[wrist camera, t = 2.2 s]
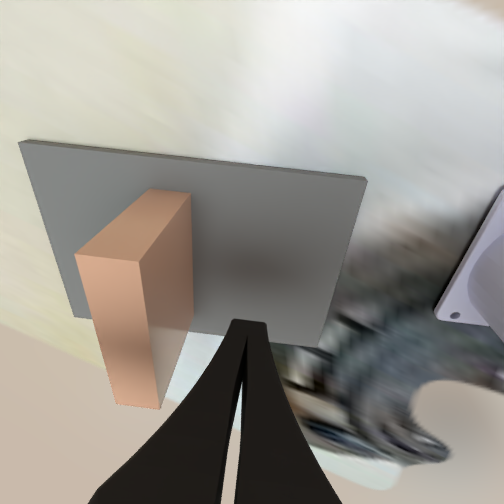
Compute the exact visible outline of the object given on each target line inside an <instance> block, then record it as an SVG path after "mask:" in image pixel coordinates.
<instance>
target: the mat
mask: <svg viewBox="0 0 504 504" xmlns="http://www.w3.org/2000/svg"><path fill="white" fill-rule="evenodd" d="M18 144H19V147H20V151H21V154H22V157H23V160H24V163H25V166H26V169H27V172H28V175H29V178H30V182H31V185H32V188H33V191H34V194H35V197H36V200H37V203H38V206H39V209H40V212H41V216H42V219H43V222H44V225H45V228H46V231H47V234H48V237H49V240H50V243H51V247H52V250H53V253H54V256H55V259H56V262H57V265H58V268H59V271H60V274H61V277H62V281H63V284H64V287H65V290H66V293H67V296H68V299H69V302H70V305H71V308H72V312H73V315H74V317H78V318H86V319H92V316H91V312H90V309H89V305H88V301H87V298H86V294H85V291H84V287H83V284H82V280H81V276H80V273H79V269H78V266H77V262H76V259H75V255H74V254H75V253H76V252H77V251H78V250H79V249H81V248H82V247H83V246H84V245H85V244H86V243H87V242H89V241H90V240H91V239H92V238H93V237H94V236H96V235H97V234H98V233H99V232H100V231H101V230H102V229H104V228H105V227H106V226H107V225H108V224H109V223H111V222H112V221H113V220H114V219H115V218H116V217H117V216H119V215H120V214H121V213H122V212H123V211H124V210H125V209H127V208H128V207H129V206H130V205H131V204H132V203H134V202H135V201H136V200H137V199H138V198H139V197H140V196H142V195H143V194H144V193H145V192H146V191H147V190H148V189H150V188H151V189H159V190H168V191H177V192H186V193H191V219H192V258H193V298H194V317H193V319H192V322H191V325H190V328H189V330H188V331H189V332H197V333H205V334H213V335H221V336H225V335H226V333H227V330H228V328H229V326H230V323H231V320H233V319H234V318H235V319H243V320H251V321H259V322H265V323H266V324H267V332H268V338H269V342H276V343H284V344H292V345H300V346H308V347H316V348H317V346H318V343H319V340H320V336H321V333H322V330H323V327H324V323H325V320H326V317H327V313H328V310H329V307H330V304H331V300H332V297H333V294H334V290H335V287H336V284H337V281H338V277H339V274H340V271H341V267H342V264H343V261H344V258H345V254H346V251H347V248H348V244H349V241H350V238H351V235H352V231H353V228H354V225H355V221H356V218H357V215H358V212H359V208H360V205H361V202H362V198H363V195H364V192H365V189H366V185H367V182H368V181H367V180H366V178H365V177H359V176H350V175H341V174H332V173H323V172H314V171H305V170H296V169H287V168H278V167H269V166H260V165H251V164H242V163H233V162H224V161H215V160H206V159H197V158H187V157H178V156H169V155H160V154H151V153H142V152H133V151H124V150H115V149H106V148H97V147H88V146H79V145H70V144H61V143H52V142H43V141H34V140H25V141H21V142H18Z"/></svg>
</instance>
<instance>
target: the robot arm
mask: <svg viewBox="0 0 504 504" xmlns="http://www.w3.org/2000/svg"><path fill="white" fill-rule="evenodd" d="M454 312H455V313H454ZM452 313H454V314H452ZM434 314H435V315H436V317H437V318H438V319H439V320H443V321H452V322H460V323H468V324H476V325H484V326H490V327H491V328H492V329H493V330H494V332H495V333H496V334H497V335H498V336H499V338H500V339H501V340H502V341H503V342H504V189H503V190H502V191H501V193H500V194H499V196H498V197H497V199H496V201H495V203H494V205H493V206H492V208H491V210H490V212H489V213H488V215H487V217H486V219H485V221H484V222H483V224H482V226H481V228H480V229H479V231H478V233H477V235H476V237H475V238H474V240H473V242H472V244H471V245H470V247H469V249H468V251H467V253H466V254H465V256H464V258H463V260H462V261H461V263H460V265H459V267H458V269H457V270H456V272H455V274H454V276H453V277H452V279H451V281H450V283H449V285H448V286H447V288H446V290H445V292H444V293H443V295H442V297H441V299H440V301H439V302H438V304H437V306H436V308H435V310H434ZM241 384H242V409H241V439H240V440H241V441H240V454H239V462H238V463H239V464H238V471H237V480H236V489H235V499H234V504H342V502H341V501H340V499H339V498H338V496H337V494H336V493H335V491H334V489H333V488H332V486H331V484H330V483H329V481H328V479H327V478H326V476H325V474H324V472H323V471H322V469H321V467H320V465H319V464H318V462H317V460H316V458H315V456H314V454H313V452H312V450H311V449H310V447H309V445H308V443H307V441H306V439H305V437H304V435H303V433H302V431H301V429H300V427H299V425H298V423H297V421H296V418H295V416H294V414H293V412H292V409H291V407H290V405H289V402H288V400H287V397H286V395H285V392H284V390H283V387H282V384H281V381H280V378H279V376H278V372H277V369H276V366H275V363H274V359H273V356H272V352H271V348H270V343H269V338H268V332H267V324H266V323H265V322H259V321H251V320H243V319H235V318H234V319H233V320H231V323H230V326H229V328H228V330H227V333H226V335H225V337H224V339H223V341H222V343H221V345H220V346H219V348H218V350H217V352H216V353H215V355H214V357H213V358H212V360H211V362H210V363H209V365H208V366H207V368H206V369H205V371H204V372H203V374H202V375H201V377H200V378H199V380H198V381H197V383H196V384H195V385H194V387H193V388H192V389H191V391H190V392H189V393H188V395H187V396H186V397H185V398H184V400H183V401H182V402H181V404H180V405H179V406H178V407H177V408H176V410H175V411H174V412H173V413H172V414H171V416H170V417H169V418H168V419H167V420H166V421H165V422H164V424H163V425H162V426H161V427H160V428H159V429H158V430H157V431H156V432H155V433H154V434H153V435H152V436H151V437H150V439H149V440H148V441H147V442H146V443H145V444H144V445H143V446H142V447H141V448H140V449H139V450H138V451H137V452H136V453H135V454H134V455H133V456H132V457H131V458H130V459H129V460H128V461H127V462H126V463H125V464H124V465H123V466H121V467H120V468H119V469H118V470H117V471H116V472H115V473H114V474H113V475H112V476H111V477H110V478H109V479H108V480H106V481H105V482H104V483H103V484H102V485H101V486H100V487H99V488H98V489H97V490H96V492H95V493H94V495H93V497H92V498H91V499H90V501H89V503H88V504H221V497H222V490H223V482H224V474H225V466H226V459H227V452H228V446H229V440H230V435H231V431H232V426H233V421H234V417H235V412H236V407H237V403H238V398H239V393H240V389H241Z"/></svg>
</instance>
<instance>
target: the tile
mask: <svg viewBox="0 0 504 504" xmlns="http://www.w3.org/2000/svg"><path fill="white" fill-rule="evenodd" d="M74 255H75V259H76V262H77V266H78V269H79V273H80V276H81V280H82V284H83V287H84V291H85V294H86V298H87V301H88V305H89V309H90V312H91V316H92V319H93V323H94V327H95V330H96V334H97V337H98V341H99V344H100V348H101V352H102V355H103V359H104V362H105V366H106V369H107V373H108V377H109V380H110V384H111V387H112V391H113V395H114V398H115V402H116V404H120V405H128V406H135V407H143V408H150V409H158V410H160V408H161V405H162V402H163V400H164V397H165V394H166V392H167V389H168V386H169V383H170V380H171V378H172V375H173V372H174V369H175V367H176V364H177V361H178V358H179V355H180V353H181V350H182V347H183V344H184V342H185V339H186V336H187V333H188V330H189V328H190V325H191V322H192V319H193V317H194V298H193V258H192V219H191V193H186V192H177V191H168V190H159V189H151V188H150V189H148V190H147V191H146V192H145V193H144V194H143V195H142V196H140V197H139V198H138V199H137V200H136V201H135V202H134V203H132V204H131V205H130V206H129V207H128V208H127V209H125V210H124V211H123V212H122V213H121V214H120V215H119V216H117V217H116V218H115V219H114V220H113V221H112V222H111V223H109V224H108V225H107V226H106V227H105V228H104V229H102V230H101V231H100V232H99V233H98V234H97V235H96V236H94V237H93V238H92V239H91V240H90V241H89V242H87V243H86V244H85V245H84V246H83V247H82V248H81V249H79V250H78V251H77V252H76V253H75V254H74Z"/></svg>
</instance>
